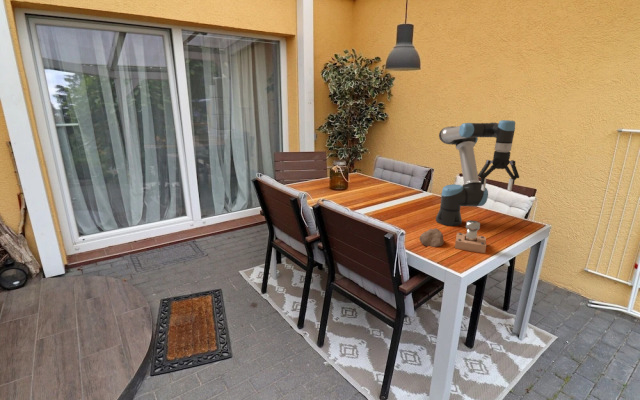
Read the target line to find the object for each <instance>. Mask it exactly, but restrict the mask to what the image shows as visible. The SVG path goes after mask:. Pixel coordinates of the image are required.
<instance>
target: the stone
mask: <svg viewBox="0 0 640 400" xmlns="http://www.w3.org/2000/svg"><path fill="white" fill-rule="evenodd" d="M418 239H419V241H420V243H421V244H422V245H424V246H425V247H428V246H430V247H432V248H437V247H442V246H443V245H444V235H443V232H441V231H440V229H438V228H429V229H428V230H427V231H424V232H423V233H421V235H420V236H419V238H418Z"/></svg>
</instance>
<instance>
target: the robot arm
mask: <svg viewBox="0 0 640 400" xmlns="http://www.w3.org/2000/svg"><path fill="white" fill-rule="evenodd" d="M515 131H516V121H515V120H507V119H506V120H505V119H504V120H503V119H501V120H499V122H481V123H480V122H465V123H461V125H459V126H458V125H457V126H446V127H443V128H442V129H441V130H440V131H439V133H438V138H439V140H440V141H441V142H442V143H443V144H445V145H449V146H450V145H452V146H453V145H455V149H456V150H457V151H458V152H459V159H460V165H461V172H462V179H463V184H454V183H453V184H452V183H451V184H446V185H444V187H442V191H441V195H440V196H441V197H440V198H441V199H440V205H439V210H438V212H437V215H436V216H435V222H437V223H438V224H440V225H443V226H449V227H457V226H461V225H462V222H463V219H462V214H461V207H482V206H483V207H484V205H485V204H486V203H487V201H488V198H489V190H488V188H487V187H486V184H487V177H489V175H490V174H492V172H493V171H494V170H496V169H497V170H505V171H506V173H507V174H508V176H509V177H510V178H508V183H507V191H508V192H512V189H513V186H514V185H515V180H517V179H520V175H519V171H518V169H517V166H516V160H514V159H513V160H510V159H511V151H512V148H513V141H514V136H515ZM478 138H494V139H495V145H494V152H493V159H492V160H490V159H486V160H485V164H484V165H483V167H482V168H481V169H480V171H479V173H478V168H477V161H476V156H475V150H474V147H476V144H477V143H478ZM490 165H491V166H490ZM508 165H510V167H511V169H512V171H511V169H510V167H509V166H508ZM488 168H489V169H488ZM479 179H480V180H479Z"/></svg>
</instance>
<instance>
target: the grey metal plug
mask: <svg viewBox="0 0 640 400" xmlns="http://www.w3.org/2000/svg"><path fill="white" fill-rule="evenodd" d="M465 222H466V223H465V228H466V233H465V234H466V240H467V241H473V242H476V237H477V236H478V231H479V230H480V228H481V223H480V222H479V221H477V220H472V219H469V220H466V221H465Z"/></svg>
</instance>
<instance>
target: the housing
mask: <svg viewBox="0 0 640 400" xmlns="http://www.w3.org/2000/svg"><path fill="white" fill-rule="evenodd" d="M466 234H467V233H462V232H456V235H455V236H456V238H455V241H454V242H455V245H454V249H457V250H463V251H469V252H475V253H481V254H485V253H486V250H487V249H486V248H487V237H486V236H483V235H477V237H476V242H473V241H467V240H466Z"/></svg>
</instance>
